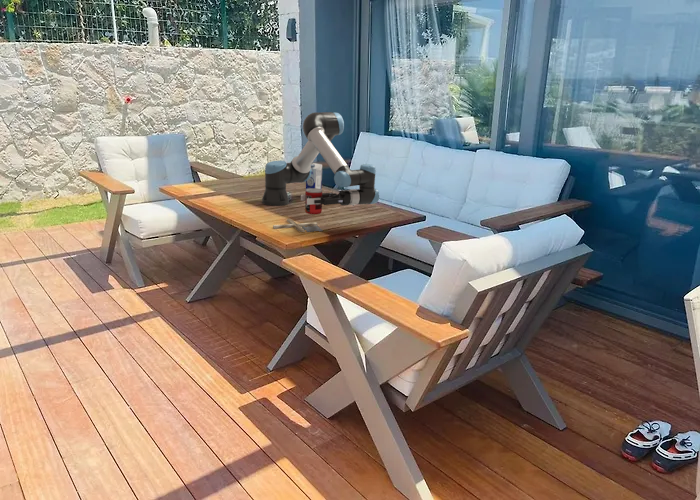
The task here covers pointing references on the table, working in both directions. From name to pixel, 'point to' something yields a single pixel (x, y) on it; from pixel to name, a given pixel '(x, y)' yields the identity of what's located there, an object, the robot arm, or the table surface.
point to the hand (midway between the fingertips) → (304, 199)
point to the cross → (299, 226)
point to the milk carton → (315, 177)
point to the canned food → (313, 207)
